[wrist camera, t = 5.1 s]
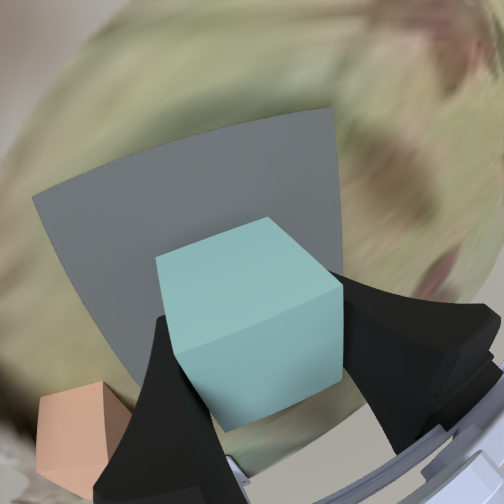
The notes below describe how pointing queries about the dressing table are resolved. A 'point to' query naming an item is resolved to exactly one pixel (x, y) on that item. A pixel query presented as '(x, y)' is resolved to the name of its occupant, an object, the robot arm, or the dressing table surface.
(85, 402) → the peach block
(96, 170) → the mat
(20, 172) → the dressing table surface
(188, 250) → the teal brick
